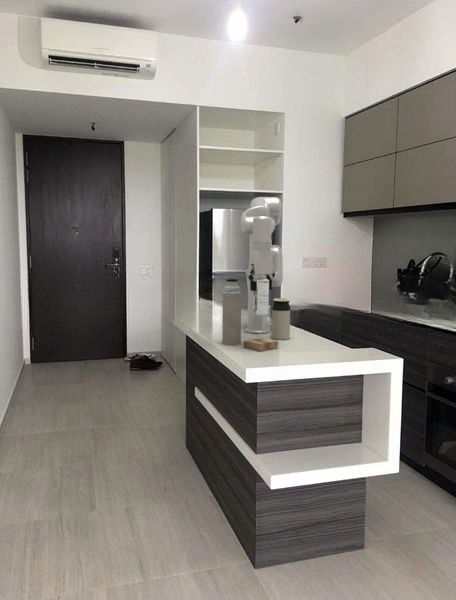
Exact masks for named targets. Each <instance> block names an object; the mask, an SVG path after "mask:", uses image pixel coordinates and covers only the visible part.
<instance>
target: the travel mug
mask: <svg viewBox="0 0 456 600" xmlns="http://www.w3.org/2000/svg"><path fill="white" fill-rule="evenodd" d="M272 300H273V305H272V309H271V310H272V315H271V316H272V318H271V319H272V320H271V321H272V326H271V327H272V329H271V333H272V334H271V337H272V339H273V340H275V341H287V340H289V339H290V336H291V324H290V323H291V305H290V304H289V303H290V301H291V299H289V298H273V299H272Z"/></svg>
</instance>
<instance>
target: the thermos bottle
mask: <svg viewBox="0 0 456 600" xmlns="http://www.w3.org/2000/svg"><path fill="white" fill-rule="evenodd" d="M225 281H226V284H225V286H224V289H223V292H222V344H223V345H225V346H239V345H241V344H242V292H241V287H240V286H239V284H238V279H236V278H227V279H225Z"/></svg>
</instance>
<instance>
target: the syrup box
mask: <svg viewBox="0 0 456 600" xmlns="http://www.w3.org/2000/svg"><path fill="white" fill-rule="evenodd" d="M255 281H257V291H254V298H253V313H254V314H255V315H267V316H268V315H269V302H270V301H269V298H270V297H269V296H270V294H269V293H270V290H269V280H267V279H263V278H257V279H256V280H255Z"/></svg>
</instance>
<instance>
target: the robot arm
mask: <svg viewBox="0 0 456 600" xmlns="http://www.w3.org/2000/svg"><path fill="white" fill-rule="evenodd" d="M249 205H250V208H247V209H246V210H244V211H243V212H242V214H241V217H240V229H241V230H240V231H241V233H242V234H244V235H247V236H249V238H248V241H249V244H248V245H249V257H248V268H247V269H246V270H245V271H244V273H245V274H246V285H247V327H246V328H244V332H245V333H249V334H268V333H271V329H270V327H272V322H269V321H268V315H255V314H254V313H253V298H254V291H257V281H255V280H256V279H257V278H263V279H267V280H269V291H271V290H273V288H274V287H276V288H277V287H280V286H281V285H282V284H283V281H284V279H283V278H284V271H283V267H284V265H283V261H284V260H283V258H284V256H283V250H282V249H283V248H281V246H280V245H278V244H272V234H273V232H274V231H275V229H276V226H278V225H279V224H280V222H281V221H282V220H281V219H282V213H283V203H282V200H281V199H280V198H279V197H277V196H258V197H254V198H252V200H251V202H250V204H249Z"/></svg>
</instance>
